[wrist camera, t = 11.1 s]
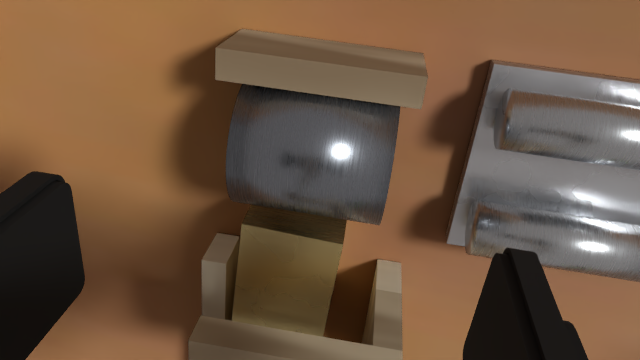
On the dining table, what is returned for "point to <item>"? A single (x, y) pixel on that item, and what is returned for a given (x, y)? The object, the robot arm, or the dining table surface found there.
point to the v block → (554, 171)
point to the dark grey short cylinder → (311, 153)
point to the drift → (287, 269)
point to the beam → (222, 255)
